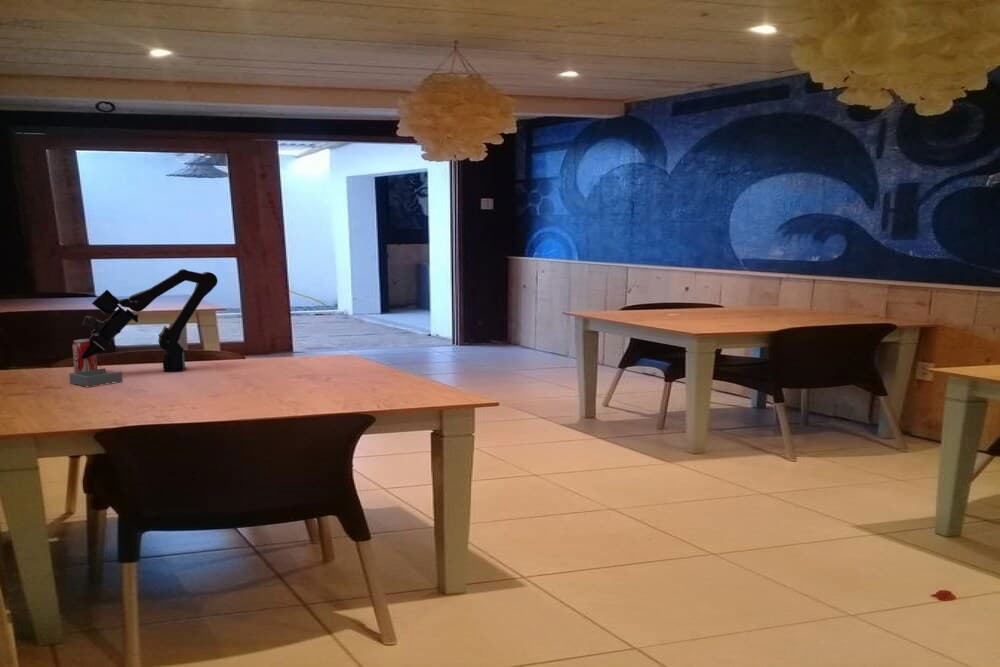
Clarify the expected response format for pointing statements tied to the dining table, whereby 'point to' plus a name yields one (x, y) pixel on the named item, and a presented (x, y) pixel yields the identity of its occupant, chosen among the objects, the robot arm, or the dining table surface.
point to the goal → (94, 377)
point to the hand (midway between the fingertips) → (82, 356)
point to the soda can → (78, 351)
